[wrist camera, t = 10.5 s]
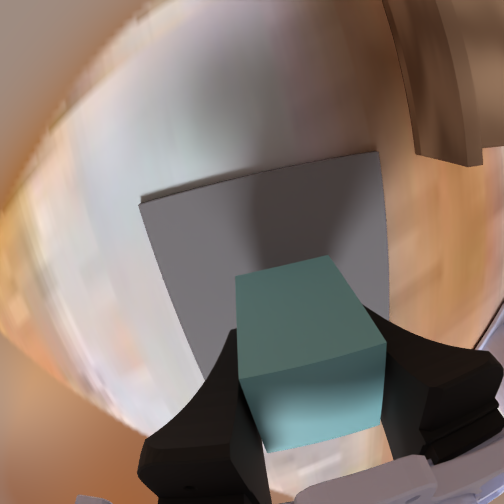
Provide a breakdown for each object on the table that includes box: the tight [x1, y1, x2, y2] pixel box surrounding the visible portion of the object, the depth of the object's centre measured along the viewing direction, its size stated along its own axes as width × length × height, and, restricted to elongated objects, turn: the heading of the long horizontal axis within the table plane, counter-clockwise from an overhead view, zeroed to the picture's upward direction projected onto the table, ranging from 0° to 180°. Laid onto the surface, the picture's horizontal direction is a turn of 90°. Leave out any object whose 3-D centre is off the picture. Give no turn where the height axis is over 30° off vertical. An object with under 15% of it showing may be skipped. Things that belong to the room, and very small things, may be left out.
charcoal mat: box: [138, 151, 389, 380], centre depth 17 cm, size 12×12×1 cm
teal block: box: [235, 255, 387, 453], centre depth 11 cm, size 4×4×6 cm
